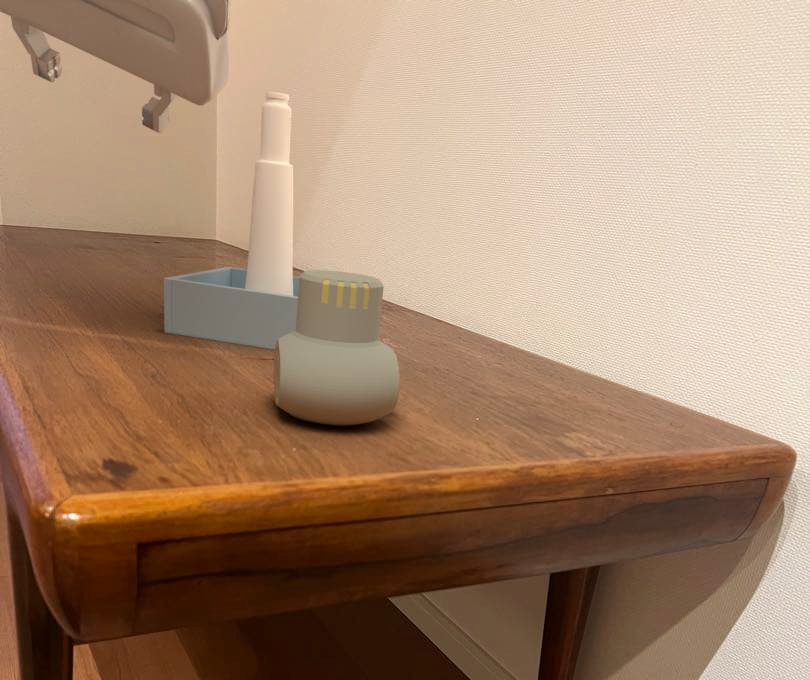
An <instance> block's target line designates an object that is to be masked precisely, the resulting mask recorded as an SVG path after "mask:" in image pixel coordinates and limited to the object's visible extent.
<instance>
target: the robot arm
mask: <svg viewBox="0 0 810 680" xmlns="http://www.w3.org/2000/svg"><path fill="white" fill-rule="evenodd" d="M231 3H232V2H231V0H0V13H2V14H5V15H6V16H9V17H10V20H11V26H12V29H13V31H14V32H15V34H16V35H17V37H18V39H19V41H20V42H21V43H22V45H23V47H24V48H25V50H26V52H27V53H28V55H30V61H31V68H32V73H33V74H34V75H35V76H37V77H40V78H41V79H43V80H45V81H48V82H49V83H54V82H55V81H56V79H58V78H60V77H61V75H62V71H63V68H62V65H61V52H59V51H57V50H55V49H53V48H51V46H50V43H49V42H48V40H47V37H46V35H45V34H47V35H48V36H51V37H53V38H55V39H58V40H59V41H62V42H64V43H66V44H68V45H70V46H72V47H74V48H76V49H78V50H81V51H83V52H85V53H87V54H89V55H91V56H93V57H96V58H97V59H100V60H102V61H103V62H106V63H109V64H110V65H112V66H114V67H116V68H119V69H120V70H123V71H125V72H127V73H129V74H131V75H133V76H136V77H137V78H140V79H142V80H144V81H146V82H148V83H149V84H152V85H153V94H154V95H155V96H156V97H159V98H160V99H158V98H156V97H154V96H152V97H150V99H149V100H148V102H147V103H145V104H144V105H143V106H142V107H141V116H142V118H143V119H142V120H141V123H142V126H144V127H145V128H148V129H150V130H152V131H154V132H155V133H158V134H162V133H163V131H164V130H165V129H166V128H167V127H168V125H169V122H170V106H172V104H173V103H174V101H176V99H177V98H178V97H179V98H181V99H183V100H185V101H187V102H190V103H192V104H194V105H196V106H205V105H206V104H208V103H210V102H211V101H212V100H213V99H214V98H216V97H217V96H218V95H219V94H220V93H221V92H222V90H223V89H224V88H225V86H226V84H227V82H228V80H229V72H230V71H229V66H230V65H229V64H230V62H229V60H230V59H229V58H230V57H229V55H230V54H229V38H228V36H229V35H228V30H229V26H230V19H231Z"/></svg>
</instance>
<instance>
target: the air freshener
mask: <svg viewBox="0 0 810 680" xmlns="http://www.w3.org/2000/svg"><path fill="white" fill-rule="evenodd" d="M298 277H299V289H298V305H297V320H296V330H295V331H294V332H292V333H289V334H287V335H285V336H283V337H281V338H279V339H277V341H276V345H275V349H274V357H273V393H274V401H275V405H276V407H278V408H280V409H281V410H283V411H284V412H286V413H288V414H289V415H290V416H292V417H293V418H295V419H297V420H300V421H304V422H307V423H314V424H319V425H326V426H336V427H341V426H342V427H343V426H344V427H347V426H348V427H349V426H357V425H365V424H369V423H371V422H374V421H376V420H380V419H381V418H384V417H385V416H387V415H389V414H390V413H392V412H393V411H394V410H395V409H396V407H397V404H398V401H399V398H400V397H399V396H400V389H401V387H400V385H401V377H400V376H401V375H400V374H401V373H400V367H399V361H398V357H397V355H396V353H395V351H394V349H392V348H391V347H390V346H389V345H387V344H386V343H385V342H383V341H381V339H380V332H381V331H380V329H381V319H382V309H383V298H384V287H385V286H384V284H383V282H382V281H381V280H380V279H379V278H377V277H374V276H370V275H365V274H362V273H361V274H359V273H355V272H348V271H338V270H328V269H327V270H323V269H310V270H304V271H303V272H301V273H300V274H299V276H298Z"/></svg>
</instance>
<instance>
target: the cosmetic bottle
mask: <svg viewBox="0 0 810 680" xmlns="http://www.w3.org/2000/svg"><path fill="white" fill-rule="evenodd" d="M264 96H265V98H266V102H263V104H262V105H261V126H260V128H261V129H260V156H259V157H260V158H259V159H257V160H256V161H255V164H254V165H255V166H254V177H253V187H252V201H251V214H250V215H251V216H250V217H251V218H250V229H249V241H248V255H247V265H246V266H247V267H246V269H247V275H246V284H245V289H249V290H256V291H262V292H269V293H276V294H283V295H289V296H293V276H294V269H293V267H294V264H293V263H294V262H293V261H294V260H293V257H294V166H293V164H291V163H290V155H291V133H292V132H291V131H292V111H293V110H292V108H291V106H289V101H290V95H289V94H287V93H283V92H276V91H266V92H265V95H264Z"/></svg>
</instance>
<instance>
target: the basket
mask: <svg viewBox="0 0 810 680" xmlns="http://www.w3.org/2000/svg"><path fill="white" fill-rule="evenodd" d="M246 275H247V268H240V267H234V266H224V267H218V268H213V269H212V268H211V269H208V270H203V271H197V272H190V273H186V274H179V275H174V276H169V277H164V278H163V327H164V328H163V331H164V333H167V334H174V335H181V336H186V337H193V338H198V339H205V340H213V341H219V342H225V343H232V344H238V345H244V346H250V347H256V348H261V349H263V348H264V349H270V350H275V345H276V341H277V339H279V338H281V337H283V336H285V335H287V334H289V333H292V332H294V331H295V330H296V320H297V305H298V289H299V276H296V275H293V296H289V295H283V294H276V293H269V292H262V291H256V290H249V289H245V284H246Z"/></svg>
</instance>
